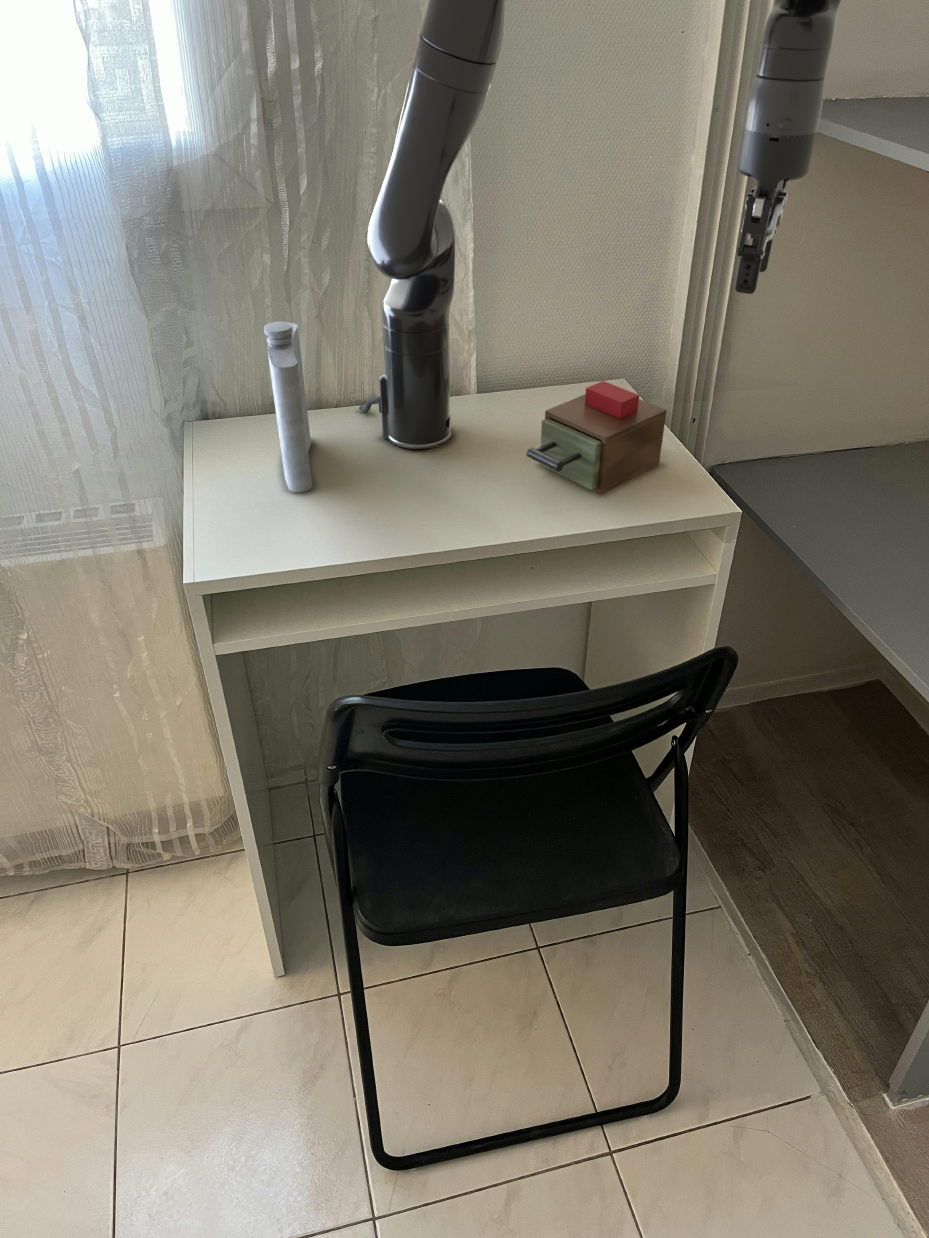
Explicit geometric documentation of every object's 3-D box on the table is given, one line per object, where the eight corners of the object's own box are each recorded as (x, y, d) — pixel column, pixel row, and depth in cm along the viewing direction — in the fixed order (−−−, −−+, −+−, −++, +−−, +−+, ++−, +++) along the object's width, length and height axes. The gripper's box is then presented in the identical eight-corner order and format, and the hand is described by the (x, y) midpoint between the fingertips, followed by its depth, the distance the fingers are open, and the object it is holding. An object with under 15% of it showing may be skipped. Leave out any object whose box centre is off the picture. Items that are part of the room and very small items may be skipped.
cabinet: (600, 494, 125) (606, 437, 120) (542, 466, 131) (545, 410, 126) (659, 465, 132) (666, 409, 126) (600, 439, 138) (605, 385, 133)
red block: (637, 411, 126) (639, 395, 125) (620, 419, 124) (622, 402, 123) (601, 397, 130) (603, 380, 128) (584, 404, 128) (585, 387, 126)
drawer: (566, 502, 122) (569, 456, 118) (514, 476, 127) (515, 431, 123) (646, 463, 130) (652, 418, 126) (594, 440, 136) (598, 396, 132)
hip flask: (312, 491, 126) (295, 347, 114) (281, 493, 125) (261, 348, 113) (310, 439, 138) (295, 303, 126) (283, 440, 138) (265, 305, 126)
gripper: (755, 112, 105) (729, 260, 115) (733, 134, 94) (706, 295, 104) (824, 117, 103) (792, 268, 112) (809, 140, 92) (775, 304, 102)
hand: (751, 281), depth 108 cm, fingers open, 8 cm apart
